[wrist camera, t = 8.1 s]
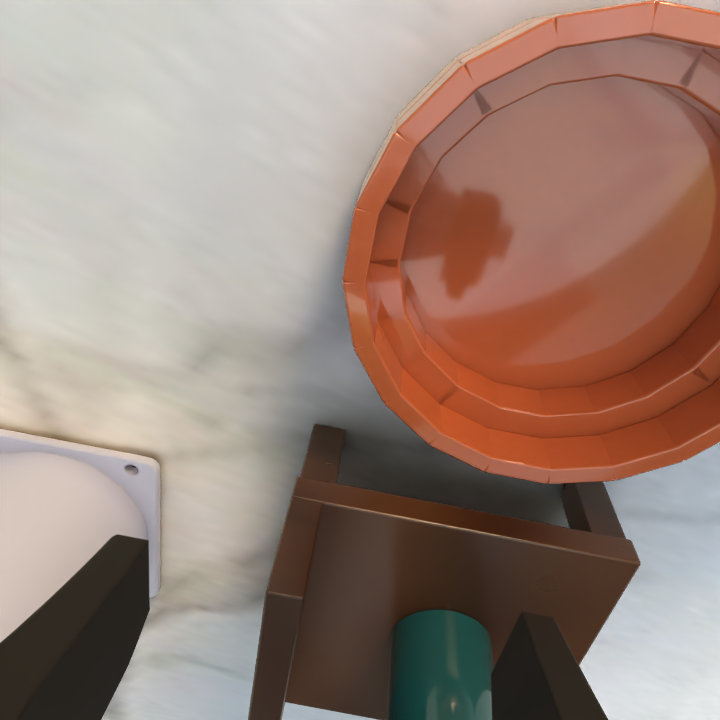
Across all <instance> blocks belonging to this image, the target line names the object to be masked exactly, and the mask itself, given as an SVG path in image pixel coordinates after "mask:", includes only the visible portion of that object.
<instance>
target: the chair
mask: <svg viewBox="0 0 720 720" xmlns="http://www.w3.org/2000/svg"><path fill="white" fill-rule="evenodd" d="M345 434H346V431H345V430H343V429H337V428H332V427H327V426H322V425H317V424H315V425H314V426H313V430H312V434H311V438H310V441H309V445H308V449H307V453H306V457H305V460H304V464H303V468H302V472H301V476H300V477H297V478H296V482H295V485H294V489H293V493H292V497H291V500H290V504H289V507H288V511H287V515H286V519H285V522H284V526H283V530H282V533H281V537H280V541H279V545H278V548H277V552H276V556H275V559H274V563H273V567H272V571H271V574H270V578H269V582H268V585H267V589H266V594H265V601H264V608H263V615H262V623H261V630H260V637H259V644H258V651H257V659H256V666H255V673H254V680H253V687H252V695H251V702H250V709H249V716H248V720H282V715H283V710H284V705H285V702H288V703H293V704H298V705H304V706H309V707H314V708H320V709H325V710H330V711H336V712H341V713H346V714H352V715H357V716H362V717H368V718H373V719H378V720H385V712H386V691H387V669H388V648H389V636H390V633H391V631H392V629H393V627H394V626H395V625H396V624H397V623H398V622H399V621H400V620H401V619H403V618H405V617H406V616H408V615H411V614H413V613H416V612H420V611H424V610H435V609H440V610H450V611H455V612H459V613H462V614H465V615H468V616H470V617H472V618H474V619H475V620H477V621H478V622H479V623H481V624H482V625H483V626H484V627H485V629H486V630H487V631H488V633H489V635H490V637H491V641H492V649H493V658H494V666H495V665H496V663H497V661H498V659H499V657H500V655H501V653H502V651H503V649H504V646H505V644H506V642H507V640H508V638H509V636H510V634H511V632H512V630H513V628H514V626H515V624H516V622H517V620H518V618H519V616H520V614H521V612H522V611H523V612H528V613H534V614H539V615H544V616H549V617H553V618H554V619H555V621H556V622H557V624H558V626H559V628H560V630H561V632H562V634H563V636H564V638H565V640H566V642H567V644H568V646H569V648H570V649H571V651H572V653H573V655H574V657H575V659H576V661H577V663H578V665H580V663H581V661H582V660H583V658H584V656H585V655H586V653H587V651H588V650H589V648H590V647H591V645H592V643H593V642H594V640H595V638H596V637H597V635H598V633H599V632H600V630H601V628H602V627H603V625H604V623H605V622H606V620H607V619H608V617H609V615H610V614H611V612H612V610H613V609H614V607H615V605H616V604H617V602H618V600H619V599H620V597H621V595H622V594H623V592H624V591H625V589H626V587H627V586H628V584H629V582H630V581H631V579H632V577H633V576H634V574H635V572H636V571H637V569H638V567H639V566H640V560H639V558H638V555H637V553H636V550H635V548H634V546H633V543H632V541H631V540H628V539H626V537H625V535H624V532H623V530H622V527H621V525H620V523H619V520H618V518H617V515H616V513H615V510H614V508H613V505H612V503H611V501H610V498H609V496H608V493H607V491H606V488H605V486H604V483H603V481H601V482H581V483H566V485H565V487H564V489H563V492H562V494H561V496H560V498H561V501H562V504H563V508H564V511H565V514H566V518H567V521H568V524H569V527H570V528H565V527H560V526H555V525H550V524H545V523H539V522H534V521H529V520H524V519H518V518H513V517H508V516H503V515H498V514H492V513H487V512H482V511H477V510H472V509H466V508H461V507H456V506H451V505H446V504H440V503H435V502H430V501H425V500H419V499H414V498H409V497H404V496H399V495H393V494H388V493H383V492H378V491H373V490H367V489H362V488H357V487H352V486H346V485H341V484H337V479H338V473H339V467H340V462H341V456H342V451H343V445H344V439H345Z"/></svg>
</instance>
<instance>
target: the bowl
mask: <svg viewBox="0 0 720 720" xmlns="http://www.w3.org/2000/svg"><path fill="white" fill-rule="evenodd" d="M342 280H343V290H344V296H345V302H346V308H347V314H348V320H349V326H350V332H351V338H352V344H353V346H354V350H355V352H356V354H357V356H358V358H359V359H360V361H361V363H362V365H363V367H364V368H365V370H366V372H367V374H368V376H369V378H370V379H371V381H372V383H373V385H374V387H375V389H376V390H377V392H378V394H379V396H380V398H381V399H382V401H383V402H384V403H385V405H386V406H387V407H388V408H389V409H391V410H392V411H393V412H394V413H395V414H396V415H397V416H398V417H399V418H400V419H401V420H402V421H403V422H405V423H406V424H407V425H408V426H409V427H410V428H411V429H412V430H413V431H414V432H415V433H416V434H418V435H419V436H420V437H421V438H422V439H423V440H424V441H425V442H426V443H427V444H429V445H430V446H432V447H434V448H436V449H438V450H440V451H442V452H444V453H446V454H448V455H450V456H452V457H454V458H456V459H458V460H460V461H463V462H465V463H467V464H469V465H471V466H473V467H475V468H477V469H479V470H481V471H485V472H486V473H492V474H497V475H502V476H507V477H512V478H518V479H523V480H528V481H533V482H538V483H544V484H547V483H548V484H561V483H581V482H601V481H614V479H615V480H620V479H623V478H627V477H630V476H634V475H638V474H641V473H645V472H648V471H652V470H655V469H659V468H662V467H666V466H670V465H673V464H677V463H680V462H682V461H683V460H688V459H689V458H691V457H693V456H695V455H697V454H699V453H700V452H702V451H704V450H706V449H708V448H710V447H712V446H713V445H715V444H717V443H719V442H720V12H716V11H711V10H706V9H701V8H696V7H691V6H686V5H681V4H676V3H671V2H666V1H661V0H658V1H655V0H650V1H642V2H633V3H625V4H616V5H609V6H602V7H596V8H590V9H584V10H577V11H571V12H565V13H559V14H553V15H546V16H540V17H534V18H531V19H527V20H525V21H523V22H521V23H519V24H518V25H516V26H514V27H512V28H510V29H508V30H506V31H504V32H502V33H500V34H498V35H496V36H495V37H493V38H491V39H489V40H487V41H485V42H483V43H481V44H479V45H477V46H475V47H474V48H472V49H470V50H468V51H466V52H464V53H462V54H460V55H458V56H457V57H456V59H453V60H452V61H451V62H450V63H449V64H448V65H447V66H446V67H445V68H444V69H443V70H442V71H441V72H440V73H439V74H438V75H437V76H436V77H435V78H434V79H433V80H432V81H431V82H430V83H429V84H428V85H427V86H426V87H425V88H424V89H423V90H422V91H421V92H420V93H419V94H418V95H417V96H416V97H415V98H414V99H413V100H412V101H411V102H410V103H409V104H408V105H407V106H406V107H405V108H404V109H403V110H402V111H401V112H400V115H398V116H397V118H396V120H395V122H394V123H393V125H392V127H391V129H390V131H389V133H388V135H387V137H386V139H385V141H384V142H383V144H382V146H381V148H380V150H379V152H378V154H377V156H376V158H375V160H374V162H373V163H372V165H371V167H370V169H369V171H368V173H367V175H366V177H365V180H364V183H363V185H362V188H361V191H360V194H359V197H358V200H357V203H356V205H355V208H354V213H353V219H352V225H351V231H350V237H349V243H348V249H347V254H346V260H345V266H344V272H343V278H342Z"/></svg>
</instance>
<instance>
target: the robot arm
mask: <svg viewBox="0 0 720 720" xmlns="http://www.w3.org/2000/svg"><path fill="white" fill-rule="evenodd" d="M131 465H133V466H135V467H136V468H137V469H136V468H133V467H132V466H131ZM160 554H161V469H160V465H159V464H158V462H157V461H156V460H154V459H153V458H150V457H146V456H141V455H136V454H130V453H125V452H120V451H115V450H110V449H104V448H99V447H94V446H89V445H83V444H78V443H73V442H68V441H63V440H57V439H52V438H47V437H42V436H36V435H31V434H26V433H21V432H16V431H10V430H5V429H0V720H101V719H102V717H103V715H104V713H105V711H106V709H107V707H108V705H109V703H110V701H111V699H112V697H113V695H114V693H115V691H116V689H117V687H118V685H119V683H120V681H121V679H122V677H123V675H124V673H125V671H126V669H127V667H128V665H129V662H130V660H131V657H132V654H133V652H134V649H135V647H136V644H137V642H138V639H139V636H140V634H141V631H142V628H143V626H144V623H145V620H146V618H147V615H148V612H149V610H150V606H149V598H153V597H155V596H157V594H158V592H159V590H160ZM491 698H492V720H608V718H607V717H606V715H605V713H604V711H603V709H602V708H601V706H600V704H599V702H598V700H597V699H596V697H595V695H594V693H593V691H592V689H591V687H590V686H589V684H588V682H587V680H586V678H585V676H584V674H583V672H582V671H581V669H580V667H579V665H578V663H577V661H576V659H575V657H574V655H573V653H572V651H571V649H570V648H569V646H568V644H567V642H566V640H565V638H564V636H563V634H562V632H561V630H560V628H559V626H558V624H557V622H556V621H555V619H554V618H553V617H549V616H544V615H539V614H534V613H528V612H523V611H522V612H521V614H520V616H519V618H518V620H517V622H516V624H515V626H514V628H513V630H512V632H511V634H510V636H509V638H508V640H507V642H506V644H505V646H504V649H503V651H502V653H501V655H500V657H499V659H498V661H497V663H496V665H495V667H494V669H493V671H492V673H491Z"/></svg>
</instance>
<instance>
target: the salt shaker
mask: <svg viewBox="0 0 720 720" xmlns="http://www.w3.org/2000/svg"><path fill="white" fill-rule="evenodd" d="M494 667H495V666H494V658H493V649H492V641H491V637H490V635H489V633H488V631H487V630H486V629H485V627H484V626H483V625H482V624H481V623H479V622H478V621H477V620H475V619H474V618H472V617H470V616H468V615H465V614H462V613H459V612H455V611H450V610H440V609H435V610H424V611H420V612H416V613H413V614H411V615H408V616H406V617H405V618H403V619H401V620H400V621H399V622H398V623H397V624H396V625H395V626H394V627H393V629H392V631H391V633H390V636H389V648H388V669H387V691H386V712H385V720H492V698H491V673H492V671H493V669H494Z"/></svg>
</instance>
